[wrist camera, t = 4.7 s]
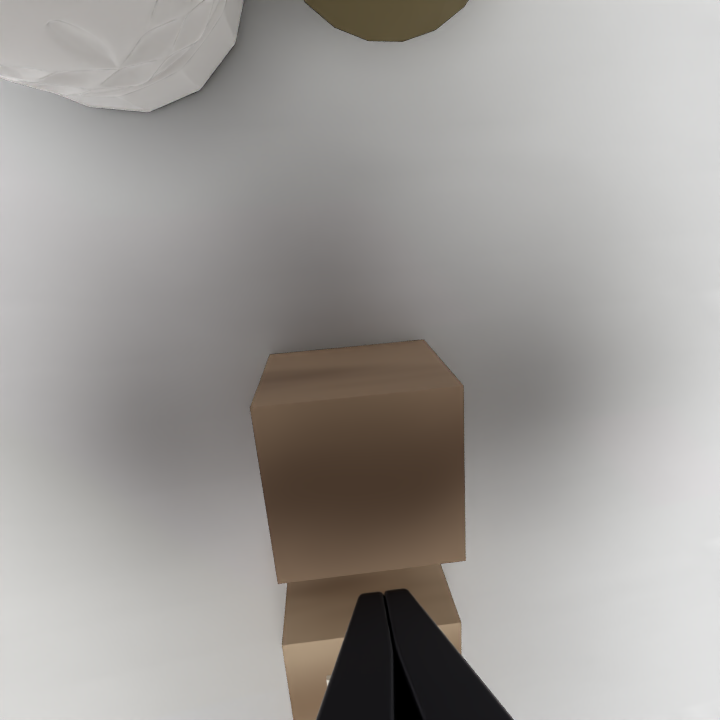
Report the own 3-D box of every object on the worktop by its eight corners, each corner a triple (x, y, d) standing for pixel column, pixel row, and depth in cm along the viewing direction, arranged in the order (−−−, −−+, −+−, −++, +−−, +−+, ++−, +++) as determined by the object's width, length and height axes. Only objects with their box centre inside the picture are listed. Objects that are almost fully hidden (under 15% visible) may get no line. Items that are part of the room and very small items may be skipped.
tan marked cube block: (432, 627, 19) (467, 752, 14) (305, 643, 18) (301, 776, 14) (429, 521, 17) (467, 625, 13) (291, 537, 17) (281, 649, 13)
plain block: (428, 473, 17) (465, 560, 12) (289, 488, 16) (278, 584, 12) (423, 338, 15) (463, 385, 11) (270, 353, 15) (250, 407, 11)
